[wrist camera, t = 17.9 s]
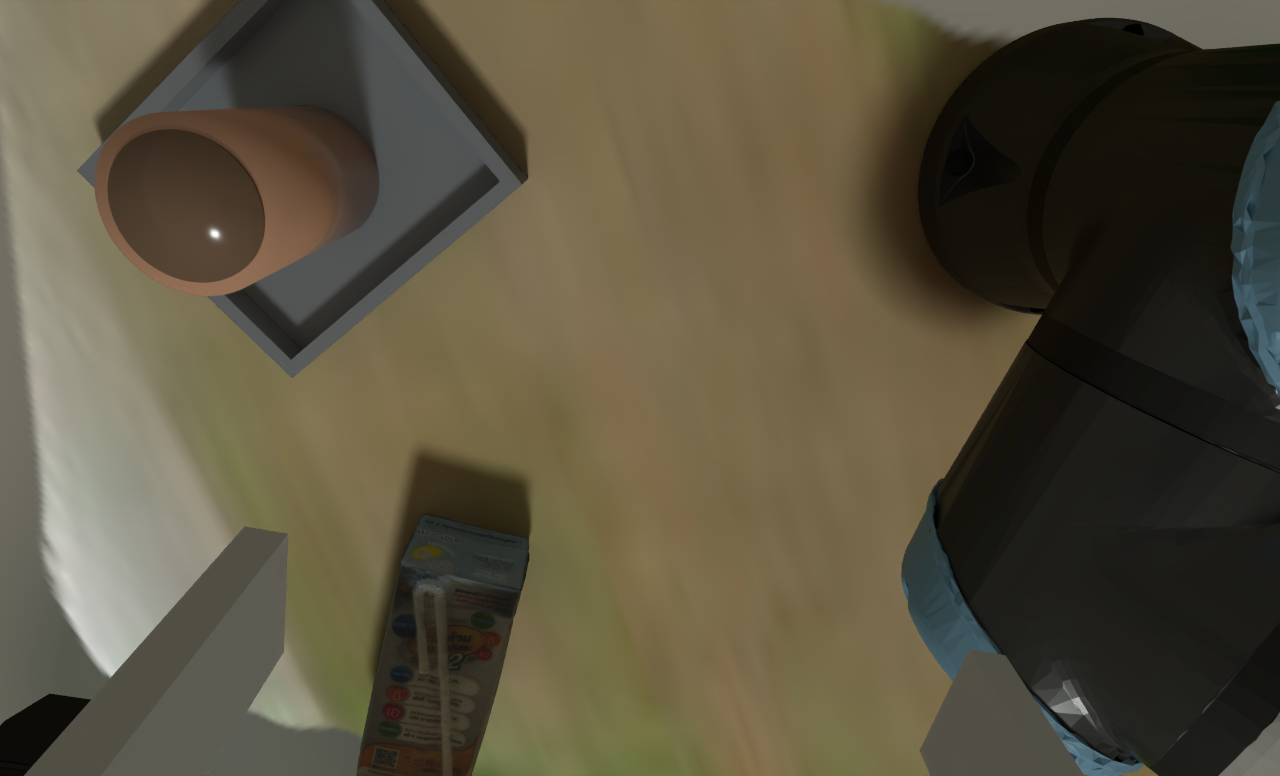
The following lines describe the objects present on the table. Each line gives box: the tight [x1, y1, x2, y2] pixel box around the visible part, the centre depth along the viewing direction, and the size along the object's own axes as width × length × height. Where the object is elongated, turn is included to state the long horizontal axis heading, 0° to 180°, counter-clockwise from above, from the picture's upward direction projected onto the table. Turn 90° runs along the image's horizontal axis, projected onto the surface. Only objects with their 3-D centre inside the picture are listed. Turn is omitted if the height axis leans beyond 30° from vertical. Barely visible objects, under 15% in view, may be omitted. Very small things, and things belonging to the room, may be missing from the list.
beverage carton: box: [357, 515, 529, 776], centre depth 49 cm, size 8×19×7 cm, turn 164°
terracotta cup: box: [95, 105, 380, 296], centre depth 34 cm, size 7×7×12 cm
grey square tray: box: [77, 0, 528, 378], centre depth 39 cm, size 15×18×2 cm
